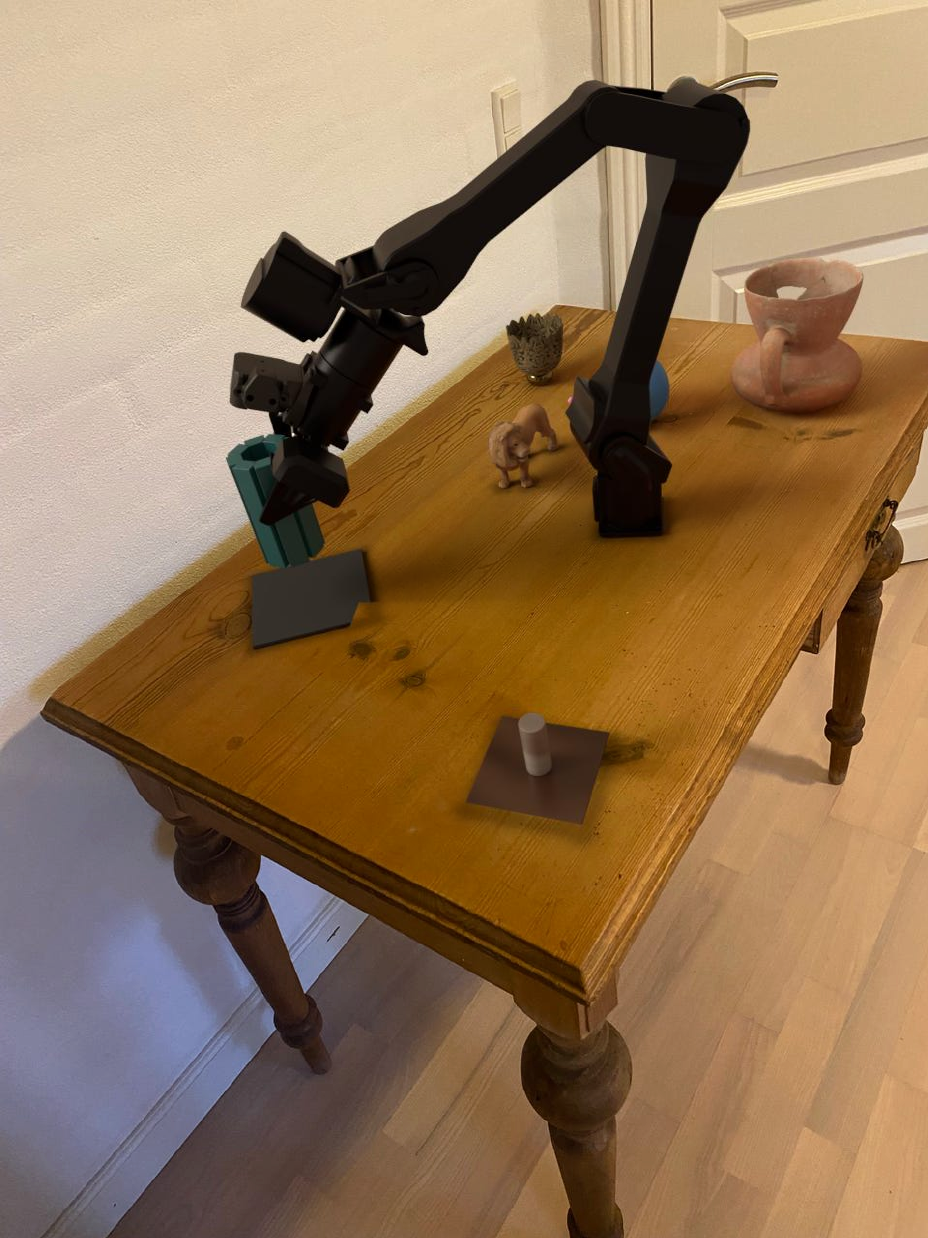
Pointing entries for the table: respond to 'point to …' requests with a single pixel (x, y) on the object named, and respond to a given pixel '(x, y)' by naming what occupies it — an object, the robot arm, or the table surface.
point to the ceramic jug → (799, 336)
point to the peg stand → (539, 768)
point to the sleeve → (254, 480)
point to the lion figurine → (519, 442)
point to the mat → (307, 598)
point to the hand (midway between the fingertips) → (263, 504)
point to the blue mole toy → (656, 390)
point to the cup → (536, 346)
